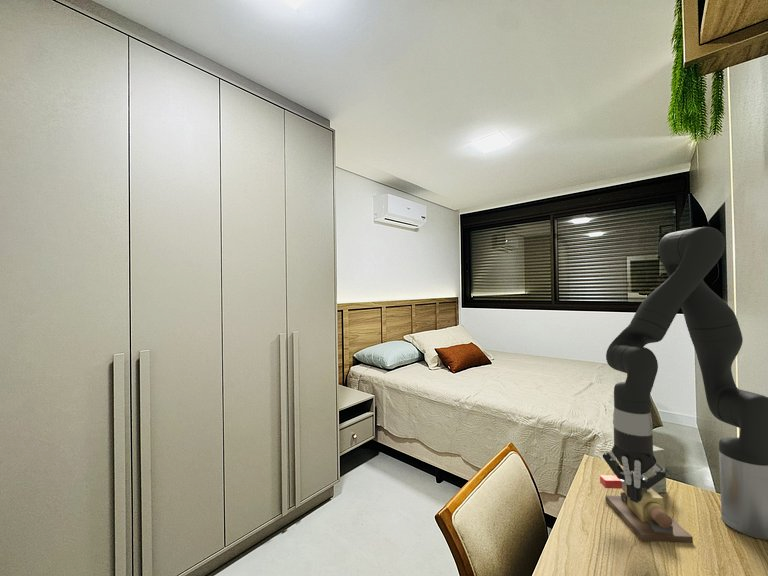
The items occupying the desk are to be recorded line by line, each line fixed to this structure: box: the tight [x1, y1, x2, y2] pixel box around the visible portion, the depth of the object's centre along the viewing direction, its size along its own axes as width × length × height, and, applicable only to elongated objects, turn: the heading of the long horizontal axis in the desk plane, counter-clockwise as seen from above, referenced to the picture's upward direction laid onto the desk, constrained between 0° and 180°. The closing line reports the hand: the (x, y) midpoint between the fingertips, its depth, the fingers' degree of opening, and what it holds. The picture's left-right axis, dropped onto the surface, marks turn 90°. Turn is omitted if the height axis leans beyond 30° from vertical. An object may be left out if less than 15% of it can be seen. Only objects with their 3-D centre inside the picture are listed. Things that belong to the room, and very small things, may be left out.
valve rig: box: [605, 486, 694, 544], centre depth 85 cm, size 15×11×8 cm
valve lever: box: [599, 474, 651, 490], centre depth 85 cm, size 11×3×2 cm, turn 84°
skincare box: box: [643, 444, 668, 494], centre depth 99 cm, size 6×4×12 cm
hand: (634, 500), depth 80 cm, fingers closed
